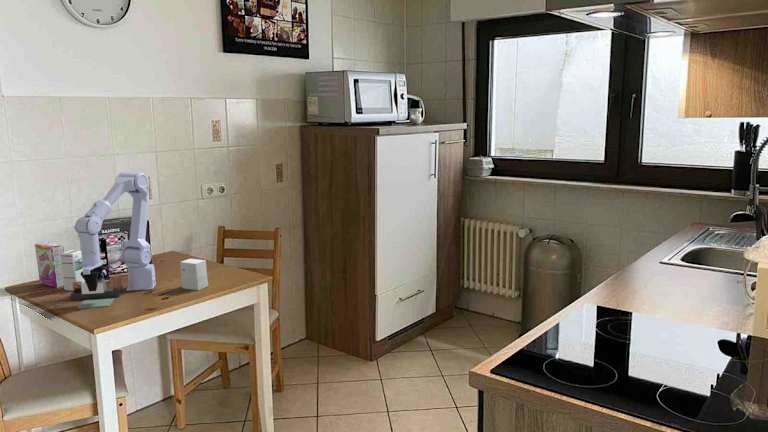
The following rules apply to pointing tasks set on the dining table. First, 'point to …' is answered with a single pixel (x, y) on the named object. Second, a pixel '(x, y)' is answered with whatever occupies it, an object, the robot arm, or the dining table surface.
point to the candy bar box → (49, 264)
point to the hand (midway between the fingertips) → (94, 289)
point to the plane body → (109, 293)
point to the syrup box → (71, 268)
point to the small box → (194, 274)
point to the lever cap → (100, 288)
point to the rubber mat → (95, 303)
